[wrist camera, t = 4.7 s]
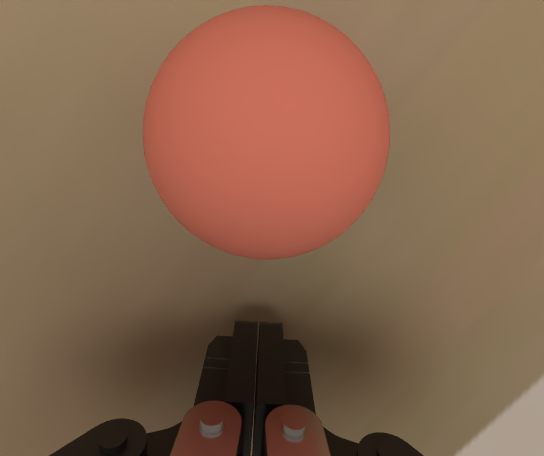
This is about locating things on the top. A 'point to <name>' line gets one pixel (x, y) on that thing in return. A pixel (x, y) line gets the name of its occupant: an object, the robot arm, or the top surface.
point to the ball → (266, 132)
